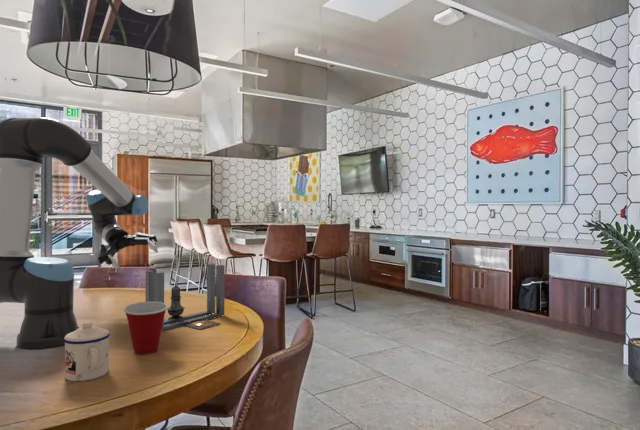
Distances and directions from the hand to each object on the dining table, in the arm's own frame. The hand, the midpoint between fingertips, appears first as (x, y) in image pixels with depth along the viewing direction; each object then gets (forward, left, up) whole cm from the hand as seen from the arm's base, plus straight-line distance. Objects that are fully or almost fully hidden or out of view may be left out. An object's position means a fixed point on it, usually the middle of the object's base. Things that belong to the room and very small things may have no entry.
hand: (136, 257), depth 142 cm
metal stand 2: (+1, -20, -22) cm, 29 cm away
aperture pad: (-1, -25, -22) cm, 33 cm away
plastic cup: (-28, -22, -22) cm, 42 cm away
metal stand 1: (+4, -15, -22) cm, 26 cm away
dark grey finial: (+5, -11, -22) cm, 25 cm away
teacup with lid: (-46, -20, -22) cm, 55 cm away
